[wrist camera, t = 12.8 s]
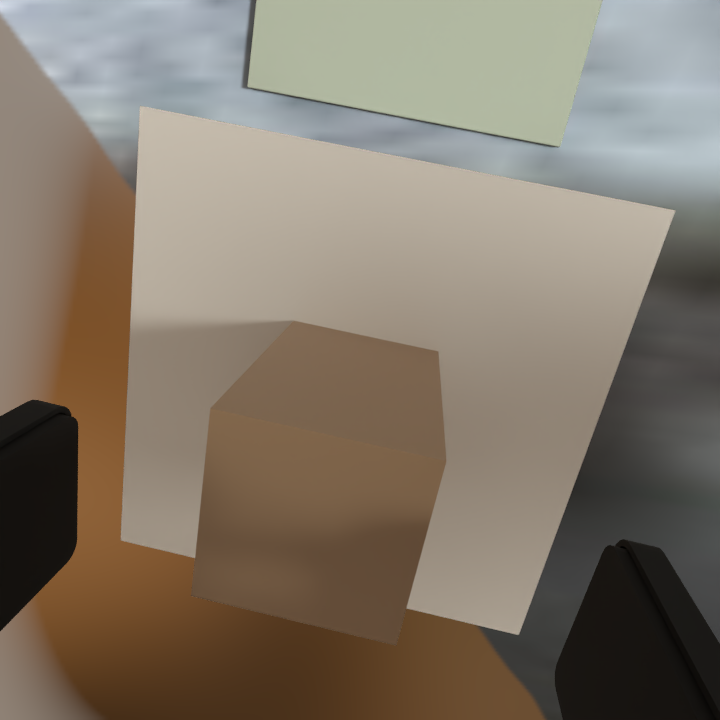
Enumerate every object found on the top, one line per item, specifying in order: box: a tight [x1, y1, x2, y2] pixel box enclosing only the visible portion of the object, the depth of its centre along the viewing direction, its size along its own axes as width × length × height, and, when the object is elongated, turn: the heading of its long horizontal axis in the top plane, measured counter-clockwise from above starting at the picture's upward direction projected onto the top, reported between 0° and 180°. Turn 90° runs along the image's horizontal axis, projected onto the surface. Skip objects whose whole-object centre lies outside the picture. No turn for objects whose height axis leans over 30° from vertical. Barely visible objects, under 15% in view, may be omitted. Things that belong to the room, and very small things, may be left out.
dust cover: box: [121, 106, 675, 645], centre depth 20 cm, size 13×13×22 cm
